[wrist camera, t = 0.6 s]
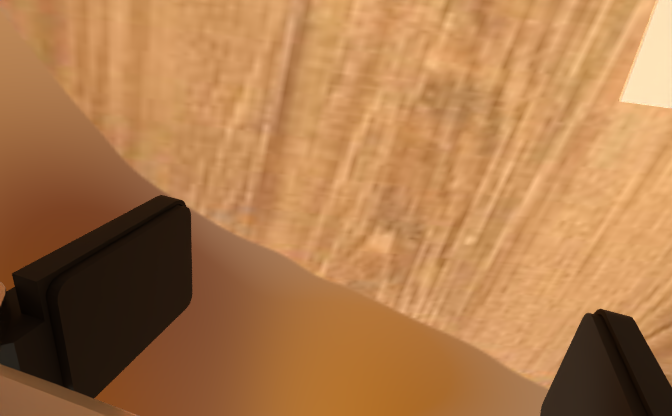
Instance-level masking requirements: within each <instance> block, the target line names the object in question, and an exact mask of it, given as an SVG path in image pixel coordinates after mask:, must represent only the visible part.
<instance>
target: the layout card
mask: <svg viewBox="0 0 672 416" xmlns="http://www.w3.org/2000/svg"><path fill="white" fill-rule="evenodd" d="M619 101H621V102H628V103H636V104H643V105H651V106H658V107H666V108H672V0H656V2H655V5H654V8H653V10H652V13H651V16H650V18H649V21H648V24H647V26H646V29H645V32H644V34H643V37H642V40H641V43H640V45H639V48H638V51H637V53H636V56H635V59H634V61H633V64H632V67H631V69H630V72H629V75H628V77H627V80H626V83H625V85H624V88H623V91H622V93H621V96H620V99H619Z"/></svg>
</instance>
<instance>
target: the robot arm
mask: <svg viewBox="0 0 672 416" xmlns="http://www.w3.org/2000/svg"><path fill="white" fill-rule="evenodd" d="M191 258H192V256H191V213H190V210H189V208H187V207H186V204H185V202H184V201H182V200H179V199H175V198H171V197H167V196H163V195H160V196H157V197H155V198H153V199H151V200H149V201H148V202H146V203H144V204H142V205H140V206H138V207H136V208H134V209H133V210H131V211H129V212H127V213H125V214H123V215H121V216H119V217H118V218H116V219H114V220H112V221H110V222H108V223H106V224H104V225H103V226H101V227H99V228H97V229H95V230H93V231H91V232H89V233H87V234H85V235H84V236H82V237H80V238H78V239H76V240H74V241H72V242H71V243H69V244H67V245H65V246H63V247H61V248H59V249H57V250H55V251H53V252H52V253H50V254H48V255H46V256H44V257H42V258H41V259H38V260H37V261H35V262H33V263H31V264H29V265H27V266H25V267H24V268H21V269H20V270H18V271H16V272H14V273H12V276H13V280H14V285H15V287H14V288H12V289H10V290H9V291H7V292H6V288H5V287H4V285H3V284H2V283H1V282H0V416H138V415H135V414H133V413H130V412H127V411H125V410H122V409H119V408H117V407H114V406H112V405H109V404H106V403H104V402H101V401H99V400H96V399H94V398H95V397H96V396H97V395H98V394H99V393H100V392H101V391H102V390H103V389H104V388H105V387H106V386H107V385H108V384H109V383H110V382H111V381H112V380H113V379H114V378H116V377H117V376H118V375H119V374H120V373H121V372H122V370H124V369H125V367H127V366H128V365H129V364H130V363H131V362H132V361H133V360H134V359H135V358H136V357H137V356H138V355H139V354H140V353H141V352H142V351H143V350H144V349H145V348H146V347H147V346H148V345H149V344H150V343H151V342H152V341H153V340H154V339H155V338H156V337H157V336H158V335H160V334H161V333H162V332H163V330H165V329H166V328H167V327H168V326H169V325H170V324H171V323H172V322H173V321H174V320H175V319H176V318H177V317H178V316H179V315H180V314H181V313H182V312H183V311H184V310H185V309H186V308H187V307H188V305H189V304H190V301H191V298H192V259H191ZM540 416H672V387H671V385H670V384H669V382H668V380H667V378H666V376H665V375H664V373H663V371H662V369H661V367H660V366H659V364H658V362H657V360H656V358H655V357H654V355H653V353H652V351H651V349H650V348H649V346H648V344H647V342H646V341H645V339H644V337H643V335H642V333H641V332H640V330H639V328H638V326H637V324H636V323H635V321H634V319H633V318H632V317H629V316H626V315H622V314H618V313H614V312H610V311H607V310H603V309H599V310H597V311H596V312H595V313H594V314H591V313H587V314H585V315H584V317H583V319H582V321H581V323H580V325H579V327H578V329H577V331H576V333H575V336H574V338H573V340H572V342H571V344H570V346H569V348H568V350H567V353H566V355H565V357H564V359H563V361H562V363H561V365H560V368H559V370H558V372H557V374H556V376H555V378H554V380H553V382H552V385H551V387H550V389H549V391H548V393H547V395H546V397H545V400H544V402H543V404H542V408H541V415H540Z"/></svg>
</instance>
